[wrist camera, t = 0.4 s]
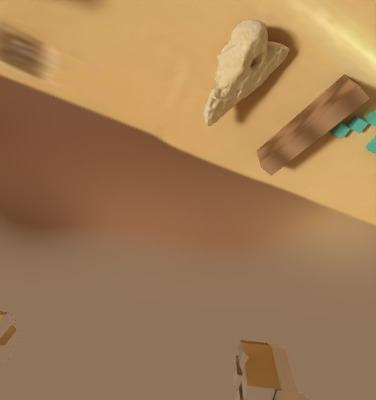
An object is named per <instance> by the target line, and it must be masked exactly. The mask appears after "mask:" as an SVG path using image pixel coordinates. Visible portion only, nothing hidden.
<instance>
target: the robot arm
mask: <svg viewBox="0 0 376 400" xmlns="http://www.w3.org/2000/svg"><path fill="white" fill-rule="evenodd" d="M14 321H15V318H14V315H13V313H9V312H2V311H0V363H1V362H3V361H4V360H6V359H8V358H9V356H10V355H11V353H12V352H13V350H14V348H15V346H16V343H17V339H18V332H17V329H16V328H15V327H14V326H13V325H12V324H13V322H14ZM234 387H235V388H236V390H237V391H238V393H237V397H236V400H309V399H308V398H307V397H306V396H305V395H304V394H302V393H299V391H298V388H297V385H296V381H295V378H294V375H293V371H292V368H291V365H290V361H289V358H288V355H287V352H286V348H285V347H284V346H283V345H279V344H270V343H263V342H253V341H245V340H240V341H239V344H238V355H237V356H236V357H235V362H234Z"/></svg>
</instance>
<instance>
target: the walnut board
mask: <svg viewBox="0 0 376 400" xmlns="http://www.w3.org/2000/svg"><path fill="white" fill-rule="evenodd" d="M369 99H370V98H369V97H368V96H367V94H366V93H365V92H364V91H363V90H362V88H361V87H360V86H359V85H357V84H356V83H355V82H353V81H352V80H351V79H349V78H348V77H347V76H345V75H343V76H342V77H341V78H340V79H339V80H337V81H336V82H335V83H334V84H333V85H332V86H331V87H329V88H328V89H327V90H326V91H325V92H324V93H323V94H321V95H320V96H319V97H318V98H317V99H316V100H315V101H313V102H312V103H311V104H310V105H309V106H308V107H307V108H305V109H304V110H303V111H302V112H301V113H300V114H298V115H297V116H296V117H295V118H294V119H293V120H292V121H290V122H289V123H288V124H287V125H286V126H285V127H284V128H282V129H281V130H280V131H279V132H278V133H277V134H276V135H274V136H273V137H272V138H271V139H270V140H269V141H268V142H266V143H265V144H264V145H263V146H262V147H261V148H260V149H258V150H257V153H258V157H259V161H260V165H261V168H263V169H264V170H265V171H266V172H267V173H269V174H270V175H271V176H272V175H273V174H274V173H276V172H277V171H278V170H279V169H281V168H282V167H283V166H285V165H286V164H287V163H288V162H290V161H291V160H292V159H293V158H295V157H296V156H297V155H299V154H300V153H301V152H302V151H304V150H305V149H306V148H308V147H309V146H310V145H311V144H313V143H314V142H315V141H317V140H318V139H319V138H320V137H322V136H323V135H324V134H325V133H327V132H328V131H329V130H331V129H332V128H333V127H334V126H336V125H337V124H338V123H340V122H341V121H342V120H343V119H345V118H346V117H347V116H349V115H350V114H351V113H352V112H354V111H355V110H356V109H357V108H359V107H360V106H361V105H363V104H364V103H365V102H366V101H368V100H369Z"/></svg>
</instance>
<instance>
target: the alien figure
mask: <svg viewBox="0 0 376 400" xmlns="http://www.w3.org/2000/svg"><path fill="white" fill-rule="evenodd" d="M368 124H371V125H374V126H376V110H375V109H374V110H373V111H372V112H371V113H370V114H369V116H368V117H367V118H366V119H363V118H361V117H359V116H357V115H355V116H354V118H353V119H352V120H351V121H350V122H349V123H348V125H346V124H344V123H342V122H340V123H338V124H337V125H336V126H334V127H333V128H332V129H331V130H330V131H331V132H332V134H333V135H335V136H338V137H340V138H343V137H344V136H345V135H346V134H347V133H348V131H349V130H350V129H352V130H354V131H356V132H358V133H361V132H362V131H363V129H364V128H365V127H366V126H367V125H368ZM366 148H367V149H368V150H369V151H370V152H372V153H374V154H376V136H375V137H374V139H373V140H372V141H371V142H370V143H369V144H368V145H367V146H366Z"/></svg>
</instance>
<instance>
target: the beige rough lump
mask: <svg viewBox="0 0 376 400" xmlns="http://www.w3.org/2000/svg"><path fill="white" fill-rule="evenodd" d="M289 51H290V49H289V48H288V47H286V46H285V45H283V44H281V43H276V42H274V41H272V42H270V41H268V33H267V29H266V25H265V24H264V23H262V22H261V21H258V20H245V21H242V22H241V23H240V24H239V25H238V26H236V27H235V29H234V30H233V32H232V35H231V39H230V41H229V43H228V44H227V45H226V46H225V47H224V48H223V50H222V51H221V53H220V54H219V55H218V57H217V59H218V67H217V70H216V73H215V76H214V79H215V81H217V84H218V85H217V86H216V87H215V88H213V89H212V90H211V92H210V94H209V99H208V101H207V103H206V105H205V110H204V113H203V116H204V120H205V123H206V125H207V126H211V125H212V124H213V123H215V122H217V121H218V120H219V119H220V117H222V116H223V115H224V114H225V113H226V112H227V111H229V110H230V109H231V108H232V107H234V106H235V105H236V104H237V103H238V102H239V101H240V100H242V99H244V98H246V97H247V96H249V94H250V93H252V92H253V91H254V90H255V89H256V88H258V87H259V86H261V84H262V83H263V82H264V81H265V80H266V79H267V77H268V76H269V75H270V74H271V73H272V72H273V71H274V70H275V69H276V68H277V67H278V66H279V65H280V64H281V63H282V62H283V61H284V60H285V58H286V57H287V55H288V53H289Z"/></svg>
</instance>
